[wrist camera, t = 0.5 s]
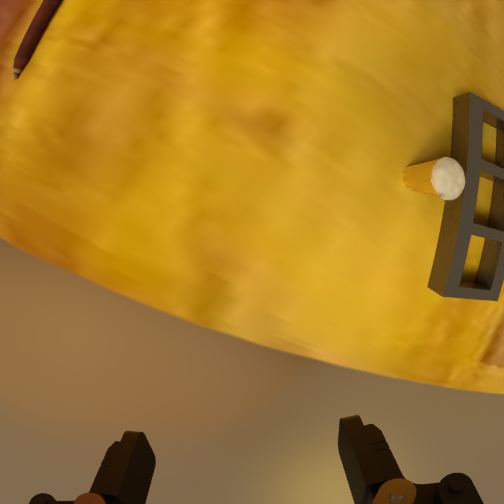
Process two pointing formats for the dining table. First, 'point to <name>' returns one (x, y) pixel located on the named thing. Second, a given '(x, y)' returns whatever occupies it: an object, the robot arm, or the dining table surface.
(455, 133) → the three-window grey frame
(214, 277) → the dining table surface
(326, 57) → the dining table surface
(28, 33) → the gavel
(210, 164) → the dining table surface
